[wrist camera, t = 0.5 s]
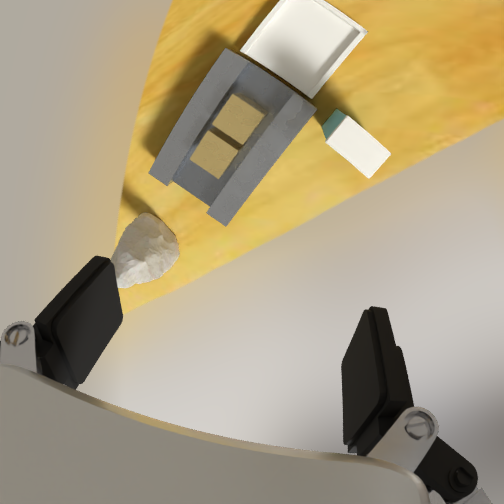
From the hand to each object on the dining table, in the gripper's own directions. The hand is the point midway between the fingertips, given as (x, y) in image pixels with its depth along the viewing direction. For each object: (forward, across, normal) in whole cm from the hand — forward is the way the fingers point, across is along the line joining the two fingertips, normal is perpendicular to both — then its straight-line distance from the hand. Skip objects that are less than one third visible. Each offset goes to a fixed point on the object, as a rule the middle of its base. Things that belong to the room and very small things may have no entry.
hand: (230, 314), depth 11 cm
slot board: (+31, +7, -1) cm, 31 cm away
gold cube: (+29, +7, +1) cm, 30 cm away
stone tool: (+31, +16, +14) cm, 38 cm away
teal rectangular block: (+31, -7, -3) cm, 32 cm away
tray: (+31, -1, -14) cm, 33 cm away
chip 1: (+29, +5, -4) cm, 29 cm away
